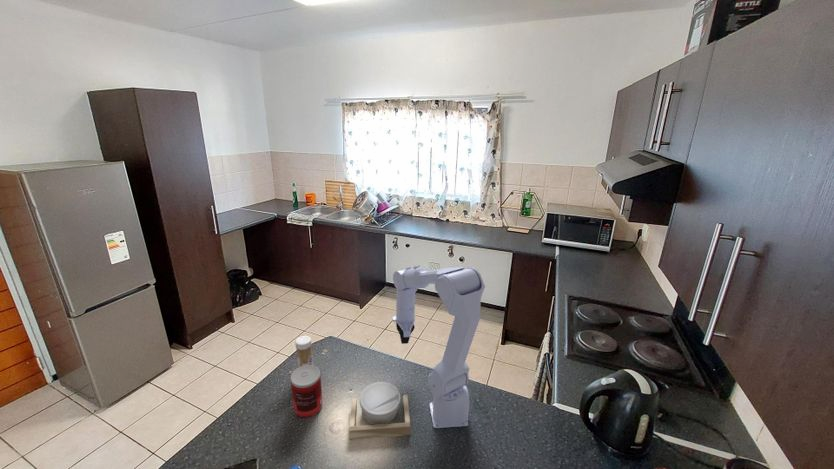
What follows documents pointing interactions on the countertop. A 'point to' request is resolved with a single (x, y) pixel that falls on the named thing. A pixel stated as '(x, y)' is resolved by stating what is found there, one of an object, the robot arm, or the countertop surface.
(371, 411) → the ramekin
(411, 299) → the robot arm
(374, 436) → the birch dock
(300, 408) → the canned food
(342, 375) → the countertop surface
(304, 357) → the sprinkles bottle
